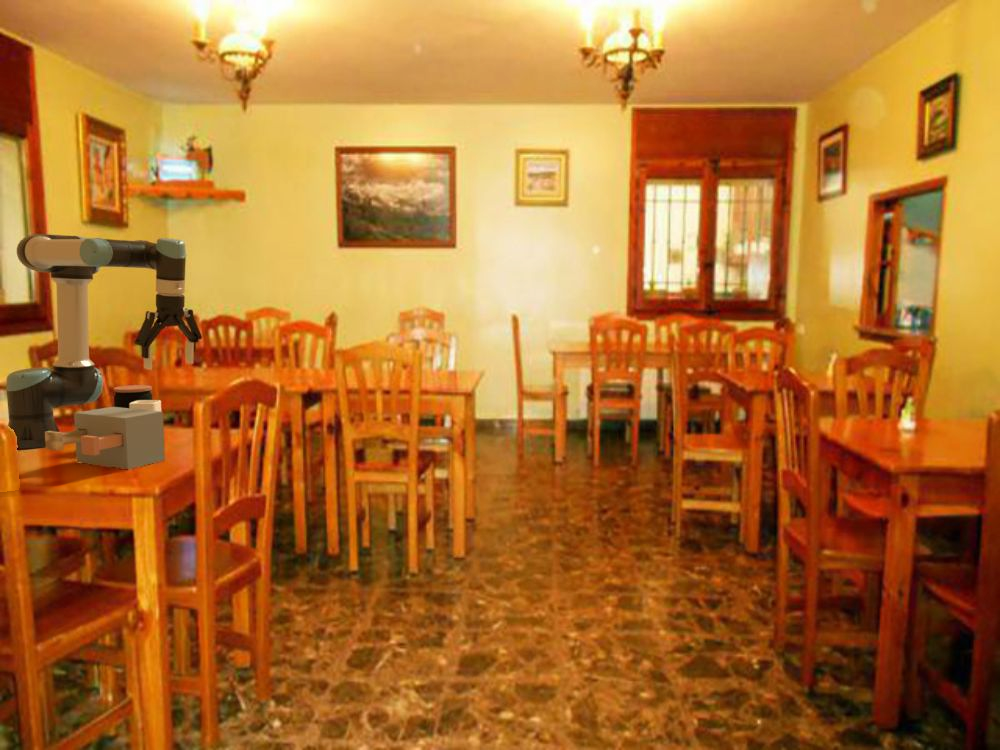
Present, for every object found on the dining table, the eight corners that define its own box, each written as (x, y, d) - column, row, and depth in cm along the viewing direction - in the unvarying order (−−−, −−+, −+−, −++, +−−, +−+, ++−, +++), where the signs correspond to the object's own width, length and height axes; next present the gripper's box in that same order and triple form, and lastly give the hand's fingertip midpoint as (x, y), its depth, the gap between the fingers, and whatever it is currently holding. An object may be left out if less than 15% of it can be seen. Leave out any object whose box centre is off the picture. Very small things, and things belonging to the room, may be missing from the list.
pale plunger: (45, 448, 194) (44, 431, 193) (89, 440, 205) (88, 424, 205) (57, 450, 192) (56, 433, 192) (100, 441, 203) (99, 425, 203)
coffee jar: (153, 446, 224) (150, 388, 222) (114, 449, 220) (111, 390, 218) (155, 440, 234) (153, 384, 232) (118, 442, 230) (115, 385, 228)
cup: (140, 448, 222) (137, 400, 220) (164, 448, 222) (162, 399, 220) (129, 453, 214) (127, 403, 213) (155, 453, 215) (152, 403, 213)
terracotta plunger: (81, 453, 188) (80, 436, 188) (124, 444, 200) (123, 428, 199) (94, 455, 186) (93, 437, 186) (136, 446, 198) (135, 429, 197)
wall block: (77, 462, 203) (73, 412, 201) (115, 454, 214) (112, 406, 212) (128, 469, 195) (125, 418, 193) (165, 460, 206) (162, 411, 204)
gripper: (138, 298, 196) (137, 374, 201) (215, 294, 218) (213, 363, 223) (121, 293, 200) (120, 368, 205) (198, 290, 221) (197, 358, 226)
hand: (169, 366), depth 214 cm, fingers open, 13 cm apart
